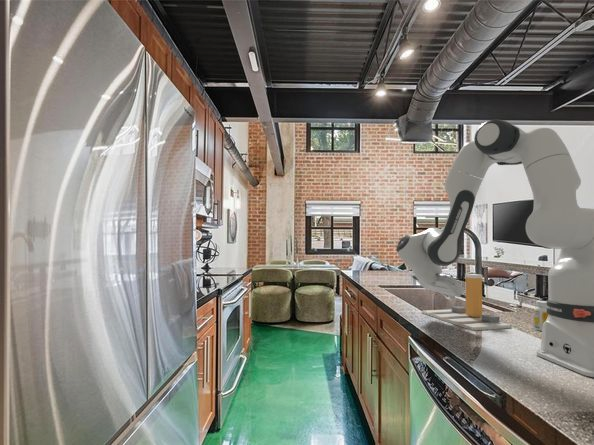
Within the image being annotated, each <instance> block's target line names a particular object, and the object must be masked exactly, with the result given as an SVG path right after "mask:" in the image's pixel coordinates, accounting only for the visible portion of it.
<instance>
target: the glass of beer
mask: <svg viewBox="0 0 594 445" xmlns="http://www.w3.org/2000/svg"><path fill="white" fill-rule="evenodd" d="M464 278H465V281H464V282H465V308H466V315H468V316H472V317H482V315H483V274H480V273H479V274H477V273H465V274H464Z"/></svg>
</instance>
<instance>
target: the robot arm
mask: <svg viewBox="0 0 594 445" xmlns="http://www.w3.org/2000/svg"><path fill="white" fill-rule="evenodd" d="M473 139H474V140H471V141H467V142H466V143H465V144H463V145H462V147H461V148H460V150H459V152H458V153H457V155H456V157H455V158H454V160H453V162H452V164H451V166H450V168H449V170H448V172H447V175H446V177H445V182H444V189H445V193H446V194H447V195H446V196H448V201H449V211H448V215H447V218H446V219H445V223H444V225H443V228H442V229H441V228H439V227H436V226H434V227H433V226H431V227H429V228H426V229H425V230H423V231H421V232H419V233H415V234H406V235H404V236H403V237H402V238H401V239H400V240H399V241H398V242H397V245H396V253H397V255H398V257H399V258H400V259H401V261H402V262H403V263H404V264H405V265H406V266H407V267H408V268H409V269H411V271H412V274H410V276H411V278H412V279H413V280H415V281H416V282H417V283H418V284H419V285H420V286H421V287H422V288H424V289H425V290H429V291H432V292H436V293H439V294H441V295H442V296H444V297H445V298H446V300H449V301H455V299H456V298H459V297H461V295H462V294H463V293H464V292H465V289H464V287H463V286H462V285H461V283H459V282H458V281H457V279H455V277H453V276H451V275H449V274H443V269H442V267H446V266H447V267H448V266H451V265H453V264H454V263H456V262H457V261H458V259H459V257H460V255H461V252H462V240H463V236H464V234H465V230H466V228H467V226H468V223H469V220H470V217H471V215H472V212H473V208H474V205H475V201H476V197H477V194H478V193H479V189H480V187H481V185H482V183H483V181H484V178H485V176H486V174H487V171H488V170H489V168H490V167H491V166H492V165H493V164H495V163H496V164H497V165H498V166H514V165H515V166H517V165H522V166H523V169H524V171H525V174H526V177H527V181H528V183H529V186H530V189H531V191H532V192H531V193H532V196H533V208H532V209H533V210H532V212H531V214H529V216H528V217H527V219H526V222H525V233H526V236H527V237H528V239H529V240H530V241H531V242H532V243H534V244H535V245H537V246H541V247H544V248H547V249H552V250H560V252H559V255H558V258H557V260H556V262H555V263H554V264H553V265H552V266H551V267H550V269H549V270H548V272H547V283H548V284H547V286H548V287H547V288H548V289H547V290H548V294H547V295H548V299H546V301H547V304H546V308H547V313H548V317H547V319H546V321H545V322H544V323H543V327H542V331H541V341H540V349H538V350H536V354H535V355H536V356H538V357H539V358H542V359H545V360H547V361H550V362H552V363H554V364H557V365H559V366H561V367H564V368H566V369H569V370H571V371H574V372H576V373H578V374H581V375H583V376H586V377H591V378H594V208H589V207H587V208H586V207H585V208H584V207H580V206H579V204H578V200H577V190H578V189H579V187H580V186H581V182H582V180H581V177H580V174H579V172H578V170H577V168H576V165H575V163H574V161H573V159H572V156H571V153H570V152H569V149H568V148H567V147H566V145H565V143H564V141H563V139H562V138H561V136H560V135H559V134H558V132H556V131H555V130H554V129H552V128H550V127H540V128H535V129H532V130H531V131H528V132H526V131H524V130H523V129H521V128H520V127H519V126H517V125H516V124H515V125H514V124H512V123H510V122H508V121H506V120H502V119H497V118H495V119H490V120H487V121H484V122H483V123H481V125H480V126H478V128H477V129H476V132H475V133H474V138H473Z"/></svg>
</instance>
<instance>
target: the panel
mask: <svg viewBox="0 0 594 445" xmlns="http://www.w3.org/2000/svg"><path fill="white" fill-rule="evenodd" d="M423 313H424V315H426V314H427V316H429V315H430V317H432V316H433V318H436V319H438V320H441V321H444V322H447V323H449V324H453V325H456V326H458V327H461V328H465V329H467V330H470V331H485V330H501V329H511V328H512V325H511V324H509V323H505V322H501V321H500V316H498V315H494V314H482V317H472V316H468V315H466V306H465V307H464V306H460V305H459V306H455V305H454V306H451V307H450V309H449V308H448V309H430V310H429V309H427V310H421V314H423Z"/></svg>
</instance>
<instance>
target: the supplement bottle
mask: <svg viewBox="0 0 594 445" xmlns="http://www.w3.org/2000/svg"><path fill="white" fill-rule="evenodd" d="M535 304H536V305H535V307H534V308H533V327H534V330H535V331H538V332H542V327H543V323H544V322H545V321H546V319H547V317H548V313H547V308H546V304H547V300H536V302H535Z"/></svg>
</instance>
